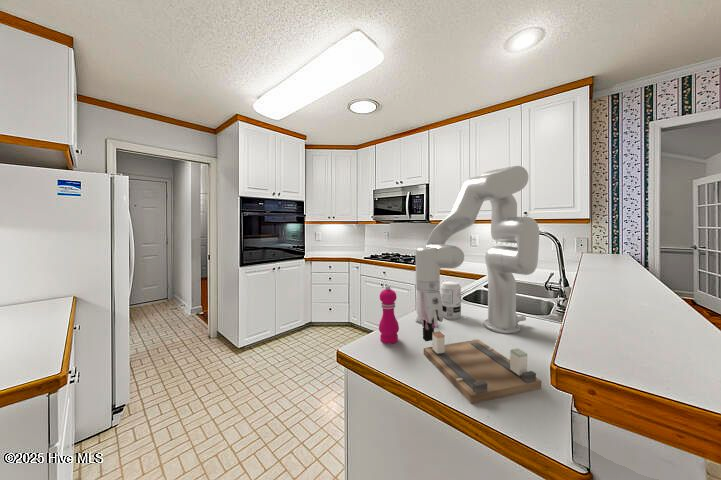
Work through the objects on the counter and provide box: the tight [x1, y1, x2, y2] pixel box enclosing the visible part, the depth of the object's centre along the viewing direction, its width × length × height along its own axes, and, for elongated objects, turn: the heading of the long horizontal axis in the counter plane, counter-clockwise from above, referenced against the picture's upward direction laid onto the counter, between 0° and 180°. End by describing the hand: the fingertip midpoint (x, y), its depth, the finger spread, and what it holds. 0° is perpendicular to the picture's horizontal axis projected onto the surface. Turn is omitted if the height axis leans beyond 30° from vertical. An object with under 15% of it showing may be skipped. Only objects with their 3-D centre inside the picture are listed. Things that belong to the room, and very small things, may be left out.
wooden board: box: [423, 339, 542, 404], centre depth 76 cm, size 24×20×4 cm
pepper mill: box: [378, 284, 400, 345], centre depth 96 cm, size 7×7×20 cm
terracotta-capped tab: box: [431, 331, 446, 354], centre depth 82 cm, size 3×2×5 cm
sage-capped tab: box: [509, 348, 528, 376], centre depth 70 cm, size 3×2×5 cm
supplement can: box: [440, 280, 462, 320], centre depth 117 cm, size 8×8×15 cm
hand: (428, 339), depth 89 cm, fingers closed
